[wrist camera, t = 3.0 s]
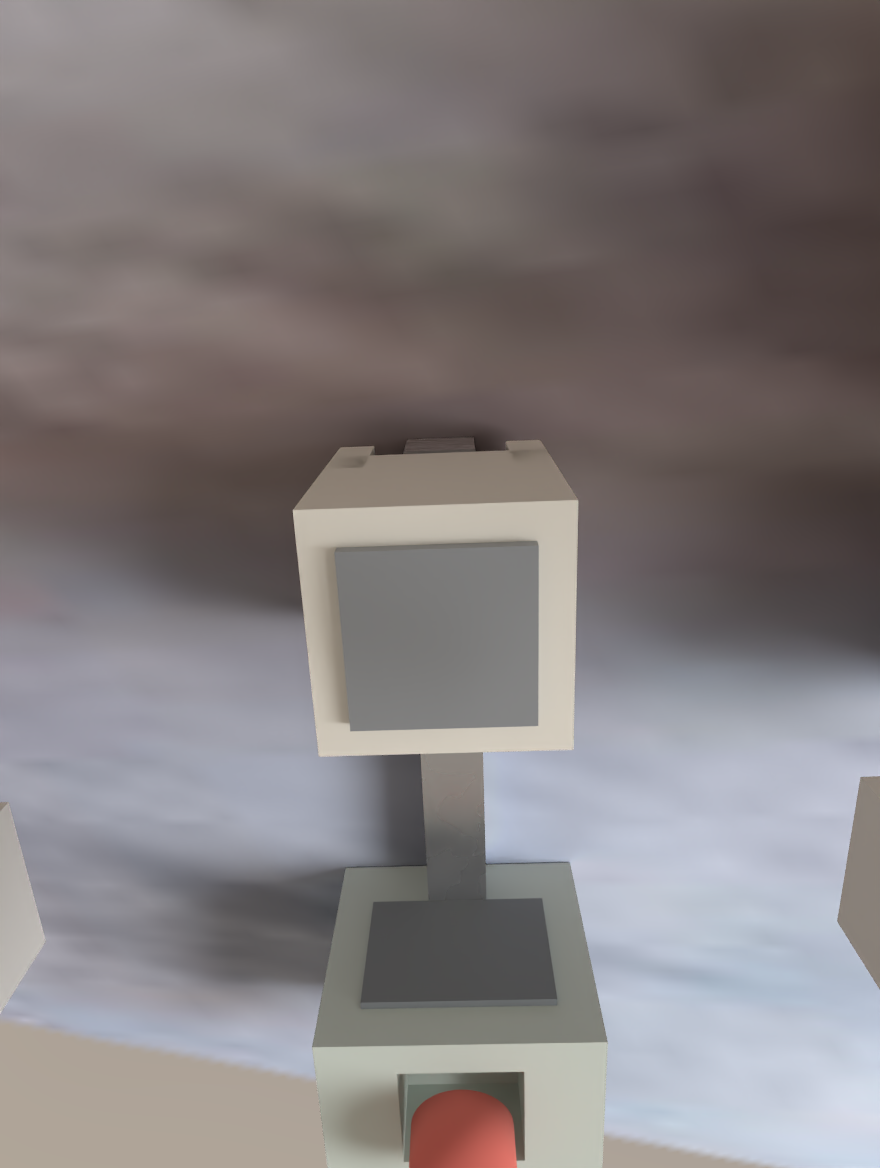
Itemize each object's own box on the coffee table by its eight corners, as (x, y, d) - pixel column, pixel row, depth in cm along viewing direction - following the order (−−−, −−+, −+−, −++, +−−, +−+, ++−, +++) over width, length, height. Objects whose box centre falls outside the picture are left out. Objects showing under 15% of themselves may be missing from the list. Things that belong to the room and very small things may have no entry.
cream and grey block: (340, 447, 28) (289, 514, 19) (540, 439, 27) (581, 503, 19) (355, 630, 30) (316, 764, 21) (539, 624, 30) (575, 757, 21)
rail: (407, 439, 29) (403, 451, 26) (473, 436, 29) (475, 449, 26) (431, 883, 35) (430, 925, 33) (484, 882, 35) (486, 924, 33)
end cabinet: (345, 862, 35) (311, 1040, 27) (570, 857, 35) (607, 1035, 26) (357, 987, 38) (330, 1187, 29) (567, 983, 37) (601, 1184, 29)
